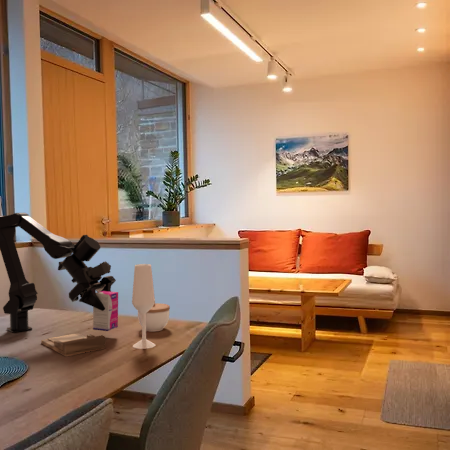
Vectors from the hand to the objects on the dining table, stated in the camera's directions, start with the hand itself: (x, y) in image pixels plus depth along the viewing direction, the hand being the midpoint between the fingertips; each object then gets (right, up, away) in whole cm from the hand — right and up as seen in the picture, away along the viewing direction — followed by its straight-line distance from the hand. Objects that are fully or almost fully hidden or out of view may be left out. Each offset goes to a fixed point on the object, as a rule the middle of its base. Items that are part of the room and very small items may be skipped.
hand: (109, 308), depth 164 cm
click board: (-9, -10, -8) cm, 16 cm away
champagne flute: (+12, -10, -9) cm, 18 cm away
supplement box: (-1, -7, +1) cm, 7 cm away
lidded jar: (+12, -9, +11) cm, 19 cm away
